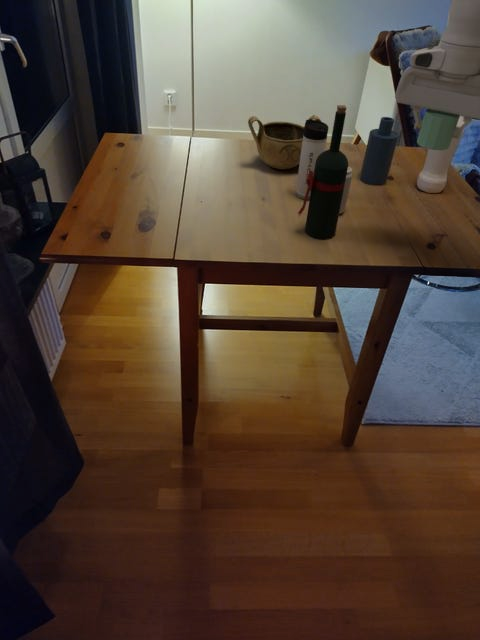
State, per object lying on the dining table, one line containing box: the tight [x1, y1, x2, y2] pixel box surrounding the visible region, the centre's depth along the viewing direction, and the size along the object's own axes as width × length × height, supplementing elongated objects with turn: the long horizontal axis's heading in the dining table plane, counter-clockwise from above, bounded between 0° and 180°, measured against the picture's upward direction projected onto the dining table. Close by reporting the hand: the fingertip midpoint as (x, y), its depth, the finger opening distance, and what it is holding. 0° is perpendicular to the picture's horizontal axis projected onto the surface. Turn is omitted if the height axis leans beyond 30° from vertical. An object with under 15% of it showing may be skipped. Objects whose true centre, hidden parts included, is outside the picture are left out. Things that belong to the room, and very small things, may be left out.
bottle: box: [416, 115, 466, 194], centre depth 129 cm, size 8×8×30 cm
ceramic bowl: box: [247, 114, 322, 170], centre depth 142 cm, size 22×17×15 cm
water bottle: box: [359, 116, 399, 186], centre depth 135 cm, size 8×8×18 cm
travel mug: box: [295, 118, 329, 201], centre depth 125 cm, size 6×7×20 cm
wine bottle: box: [297, 104, 349, 241], centre depth 106 cm, size 8×10×30 cm
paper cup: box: [416, 108, 460, 150], centre depth 97 cm, size 7×7×6 cm
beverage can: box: [339, 165, 353, 215], centre depth 121 cm, size 6×6×12 cm
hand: (436, 133), depth 97 cm, fingers closed on paper cup, 6 cm apart
